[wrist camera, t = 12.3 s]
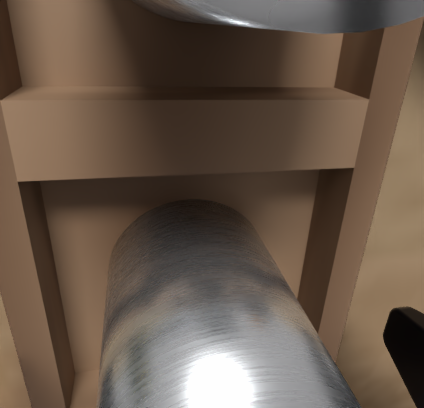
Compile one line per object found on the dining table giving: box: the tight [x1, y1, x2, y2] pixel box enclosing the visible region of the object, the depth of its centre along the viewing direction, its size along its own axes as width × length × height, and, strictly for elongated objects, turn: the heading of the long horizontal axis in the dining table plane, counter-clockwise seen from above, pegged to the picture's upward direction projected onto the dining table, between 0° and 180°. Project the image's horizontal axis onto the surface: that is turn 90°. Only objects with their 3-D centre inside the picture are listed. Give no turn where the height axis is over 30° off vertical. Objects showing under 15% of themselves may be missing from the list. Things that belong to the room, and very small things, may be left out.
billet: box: [96, 199, 361, 408], centre depth 8 cm, size 4×4×6 cm
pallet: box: [0, 0, 424, 408], centre depth 8 cm, size 9×18×2 cm, turn 178°
